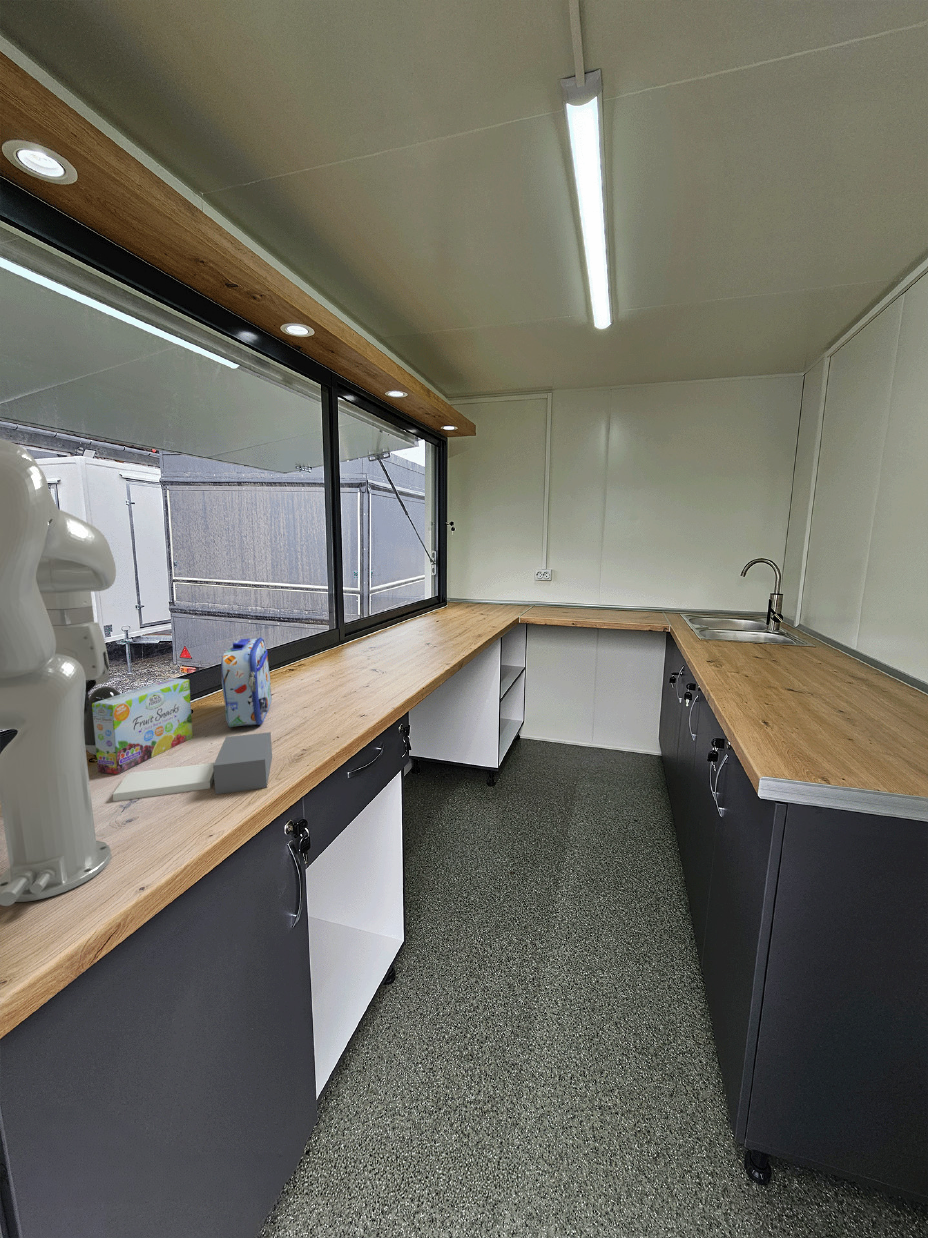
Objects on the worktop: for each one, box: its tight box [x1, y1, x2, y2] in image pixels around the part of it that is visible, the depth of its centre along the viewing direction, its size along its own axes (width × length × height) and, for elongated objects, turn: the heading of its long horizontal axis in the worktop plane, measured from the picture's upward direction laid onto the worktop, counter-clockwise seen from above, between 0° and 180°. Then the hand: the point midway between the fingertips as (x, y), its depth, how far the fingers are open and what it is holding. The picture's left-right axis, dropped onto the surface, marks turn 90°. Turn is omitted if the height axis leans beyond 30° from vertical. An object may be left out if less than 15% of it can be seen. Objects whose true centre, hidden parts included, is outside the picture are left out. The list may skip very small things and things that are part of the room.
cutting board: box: [112, 762, 215, 802], centre depth 98 cm, size 9×16×2 cm, turn 108°
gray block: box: [213, 732, 273, 795], centre depth 102 cm, size 15×9×6 cm, turn 17°
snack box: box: [92, 677, 194, 775], centre depth 112 cm, size 21×6×15 cm, turn 168°
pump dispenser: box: [84, 686, 121, 756], centre depth 113 cm, size 10×10×15 cm
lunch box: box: [220, 637, 273, 728], centre depth 136 cm, size 28×10×22 cm, turn 17°
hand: (79, 715), depth 93 cm, fingers closed
